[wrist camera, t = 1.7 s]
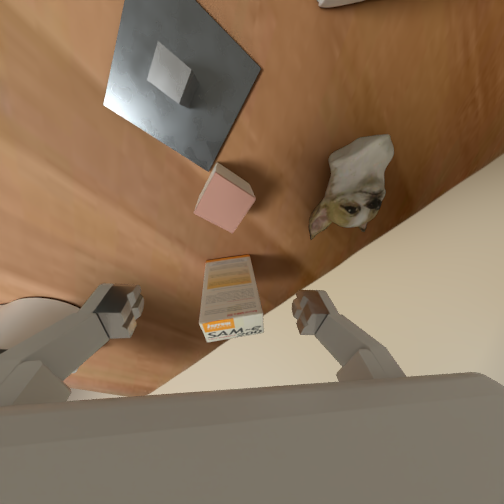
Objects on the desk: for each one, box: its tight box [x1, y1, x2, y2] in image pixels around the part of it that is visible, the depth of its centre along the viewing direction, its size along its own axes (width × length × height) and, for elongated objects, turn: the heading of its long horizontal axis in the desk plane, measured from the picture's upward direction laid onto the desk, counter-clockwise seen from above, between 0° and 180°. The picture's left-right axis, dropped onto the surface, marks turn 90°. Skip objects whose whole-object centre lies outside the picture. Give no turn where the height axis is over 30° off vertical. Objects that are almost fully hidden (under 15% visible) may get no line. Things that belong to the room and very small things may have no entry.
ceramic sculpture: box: [309, 134, 394, 240], centre depth 25 cm, size 11×9×15 cm
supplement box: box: [199, 255, 264, 342], centre depth 29 cm, size 8×5×13 cm, turn 94°
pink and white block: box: [194, 162, 256, 233], centre depth 23 cm, size 5×5×7 cm
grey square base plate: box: [104, 0, 261, 172], centre depth 17 cm, size 12×12×6 cm
